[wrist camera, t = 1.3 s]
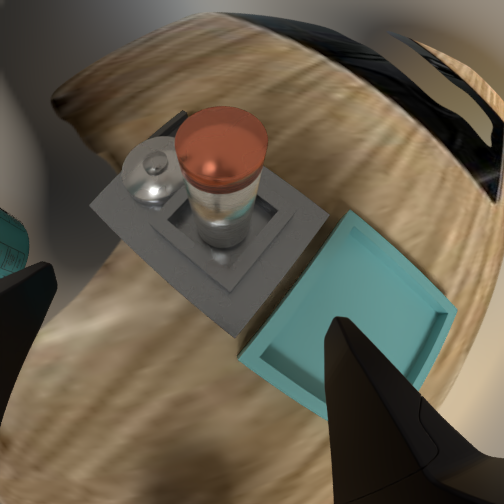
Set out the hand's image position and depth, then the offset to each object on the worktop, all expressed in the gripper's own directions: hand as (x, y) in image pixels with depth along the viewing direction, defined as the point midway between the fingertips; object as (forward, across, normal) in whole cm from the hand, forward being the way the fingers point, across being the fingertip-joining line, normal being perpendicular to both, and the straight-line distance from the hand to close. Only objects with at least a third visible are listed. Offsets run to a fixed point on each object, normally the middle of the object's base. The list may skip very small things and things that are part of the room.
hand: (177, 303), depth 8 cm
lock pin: (+13, 0, +3) cm, 14 cm away
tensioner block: (+15, +2, +3) cm, 15 cm away
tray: (+9, -12, +9) cm, 17 cm away
